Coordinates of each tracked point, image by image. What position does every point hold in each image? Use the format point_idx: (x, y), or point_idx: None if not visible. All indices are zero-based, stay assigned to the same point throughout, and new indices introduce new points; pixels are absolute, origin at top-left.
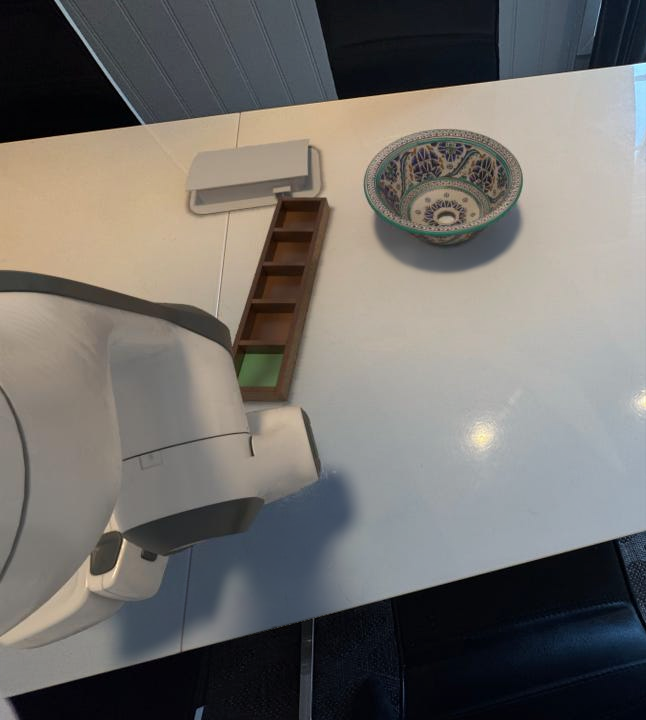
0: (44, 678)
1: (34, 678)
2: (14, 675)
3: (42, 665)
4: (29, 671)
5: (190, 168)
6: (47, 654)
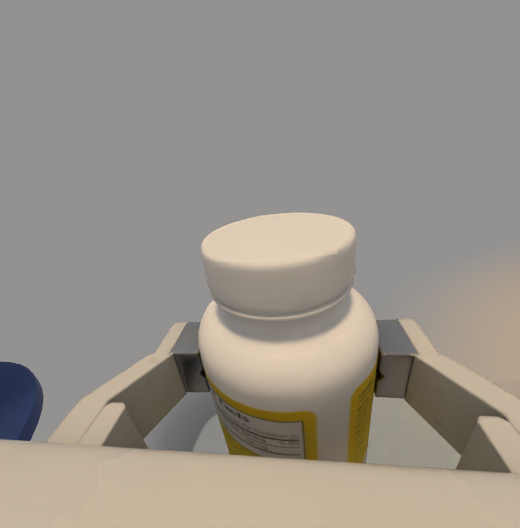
0: (194, 448)
1: (202, 436)
2: (217, 414)
3: (210, 444)
4: (212, 430)
5: None
6: (219, 450)
